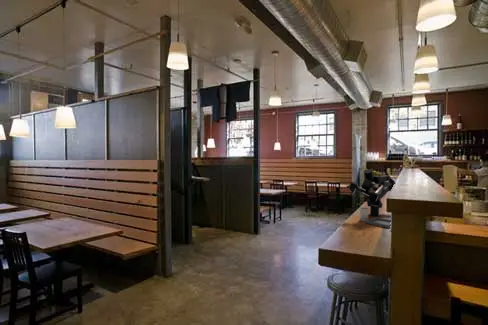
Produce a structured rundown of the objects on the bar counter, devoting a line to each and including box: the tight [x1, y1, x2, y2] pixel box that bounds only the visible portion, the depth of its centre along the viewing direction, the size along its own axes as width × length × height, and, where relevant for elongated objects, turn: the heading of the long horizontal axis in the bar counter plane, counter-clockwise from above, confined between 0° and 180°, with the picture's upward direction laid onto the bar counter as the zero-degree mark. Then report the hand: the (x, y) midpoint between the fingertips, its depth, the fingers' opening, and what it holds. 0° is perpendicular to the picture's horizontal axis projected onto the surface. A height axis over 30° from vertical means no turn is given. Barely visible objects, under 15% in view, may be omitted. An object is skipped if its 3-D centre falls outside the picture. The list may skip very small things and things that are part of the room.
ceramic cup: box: [359, 207, 369, 222], centre depth 207 cm, size 5×5×8 cm
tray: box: [364, 216, 392, 229], centre depth 197 cm, size 15×15×2 cm
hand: (357, 197), depth 205 cm, fingers open, 9 cm apart
